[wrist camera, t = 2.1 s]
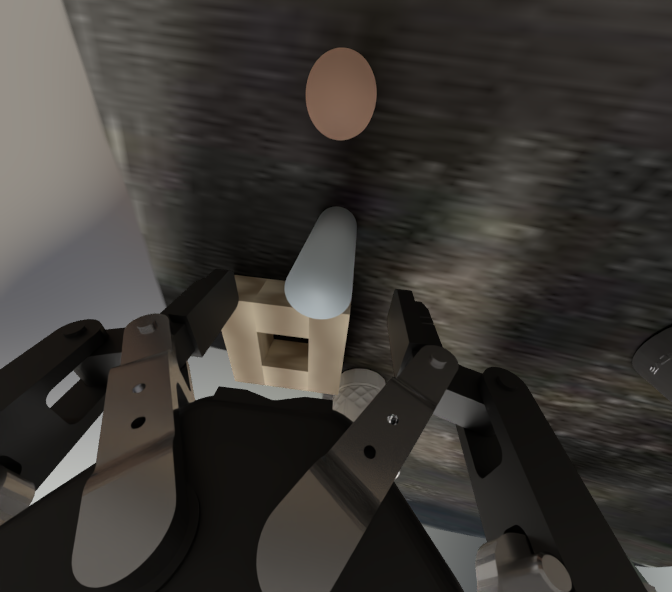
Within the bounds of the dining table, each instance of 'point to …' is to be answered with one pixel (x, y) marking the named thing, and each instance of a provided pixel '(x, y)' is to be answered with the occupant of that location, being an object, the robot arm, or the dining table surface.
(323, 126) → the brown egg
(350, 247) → the long dowel
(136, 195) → the dining table surface
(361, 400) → the white cup
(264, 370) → the hole block
